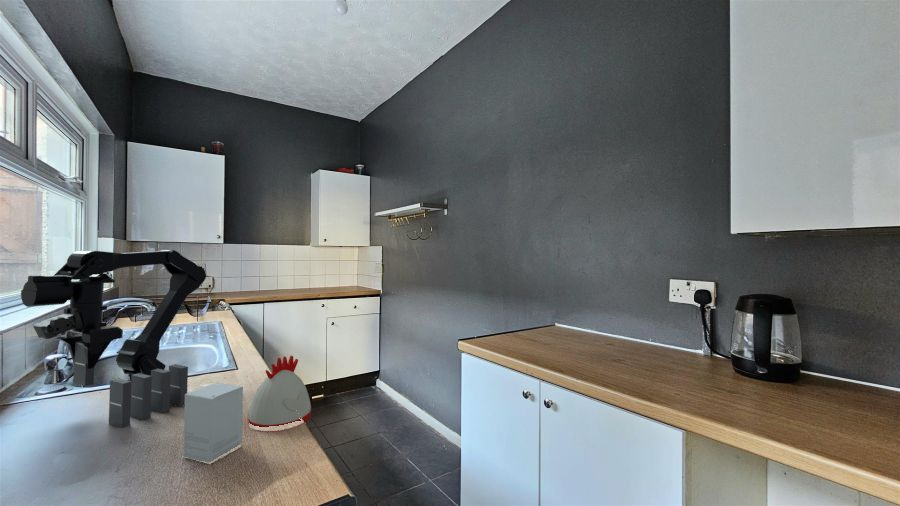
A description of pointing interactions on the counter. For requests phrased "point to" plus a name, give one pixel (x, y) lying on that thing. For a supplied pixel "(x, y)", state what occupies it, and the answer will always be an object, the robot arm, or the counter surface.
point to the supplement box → (212, 421)
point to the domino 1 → (82, 368)
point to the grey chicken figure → (280, 397)
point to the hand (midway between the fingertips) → (84, 366)
